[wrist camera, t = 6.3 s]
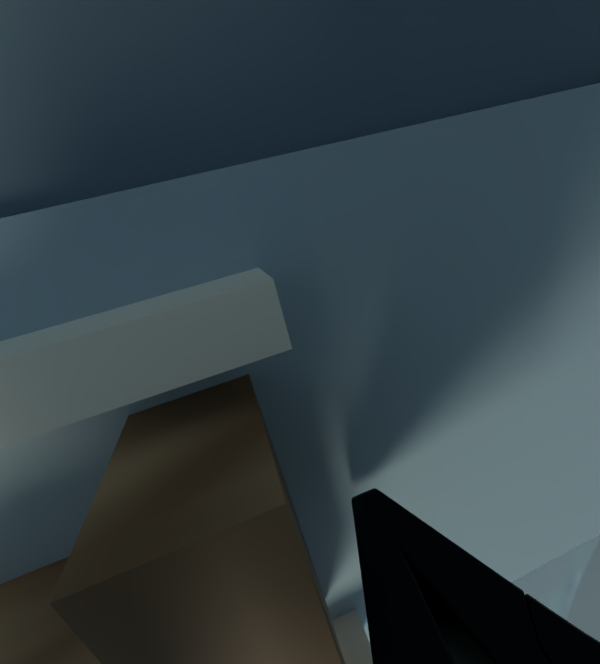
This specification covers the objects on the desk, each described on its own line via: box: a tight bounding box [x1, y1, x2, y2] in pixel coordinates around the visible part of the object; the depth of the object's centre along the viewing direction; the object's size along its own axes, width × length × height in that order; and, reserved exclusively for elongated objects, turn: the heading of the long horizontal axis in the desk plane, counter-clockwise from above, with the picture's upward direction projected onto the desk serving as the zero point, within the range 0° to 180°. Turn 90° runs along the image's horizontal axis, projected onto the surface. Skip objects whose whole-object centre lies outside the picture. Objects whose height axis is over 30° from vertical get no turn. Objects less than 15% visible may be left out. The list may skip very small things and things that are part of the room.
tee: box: [0, 374, 346, 664], centre depth 6 cm, size 7×8×4 cm
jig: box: [0, 83, 600, 664], centre depth 8 cm, size 22×16×2 cm
